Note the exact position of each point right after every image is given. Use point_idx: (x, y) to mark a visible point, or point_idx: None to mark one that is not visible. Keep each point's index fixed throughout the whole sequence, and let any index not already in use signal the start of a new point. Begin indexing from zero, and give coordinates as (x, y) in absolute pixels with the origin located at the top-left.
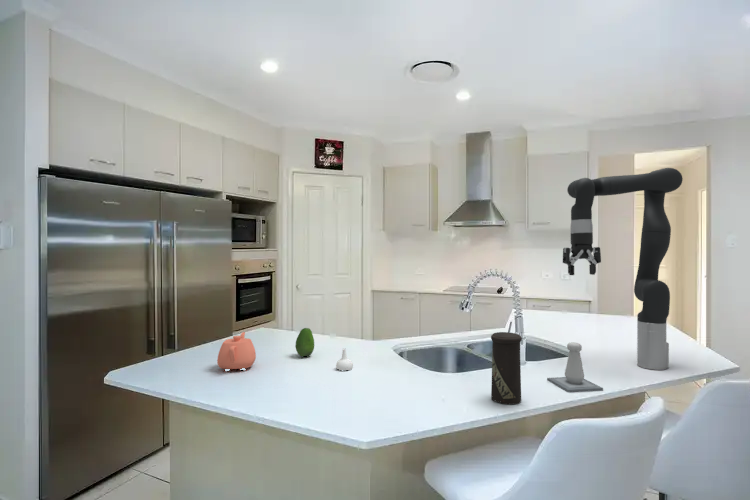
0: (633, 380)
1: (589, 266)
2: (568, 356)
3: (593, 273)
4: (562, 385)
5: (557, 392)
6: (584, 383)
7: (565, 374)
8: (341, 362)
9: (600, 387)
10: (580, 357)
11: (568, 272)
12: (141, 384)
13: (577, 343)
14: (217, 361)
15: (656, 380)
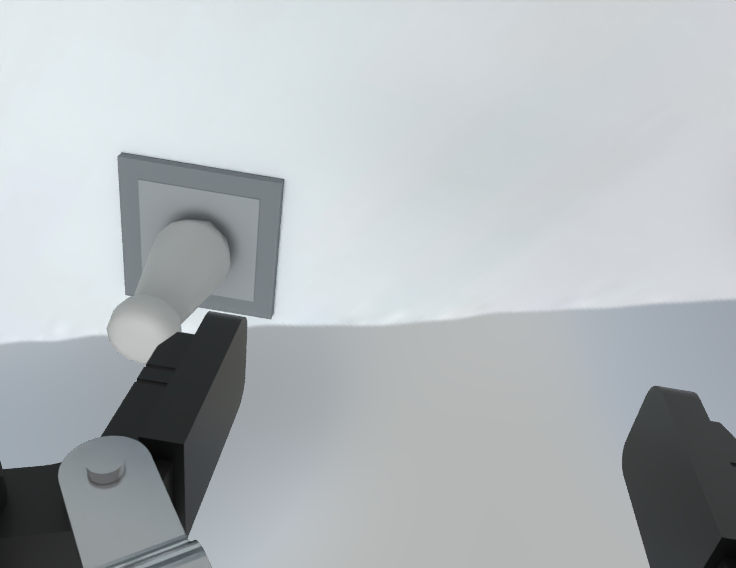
0: (501, 268)
1: (707, 500)
2: (138, 287)
3: (627, 473)
4: (131, 252)
5: (89, 277)
6: (233, 265)
7: (152, 245)
8: None
9: (265, 312)
10: (184, 319)
11: (162, 352)
12: None
13: (148, 351)
14: None
15: (597, 297)
